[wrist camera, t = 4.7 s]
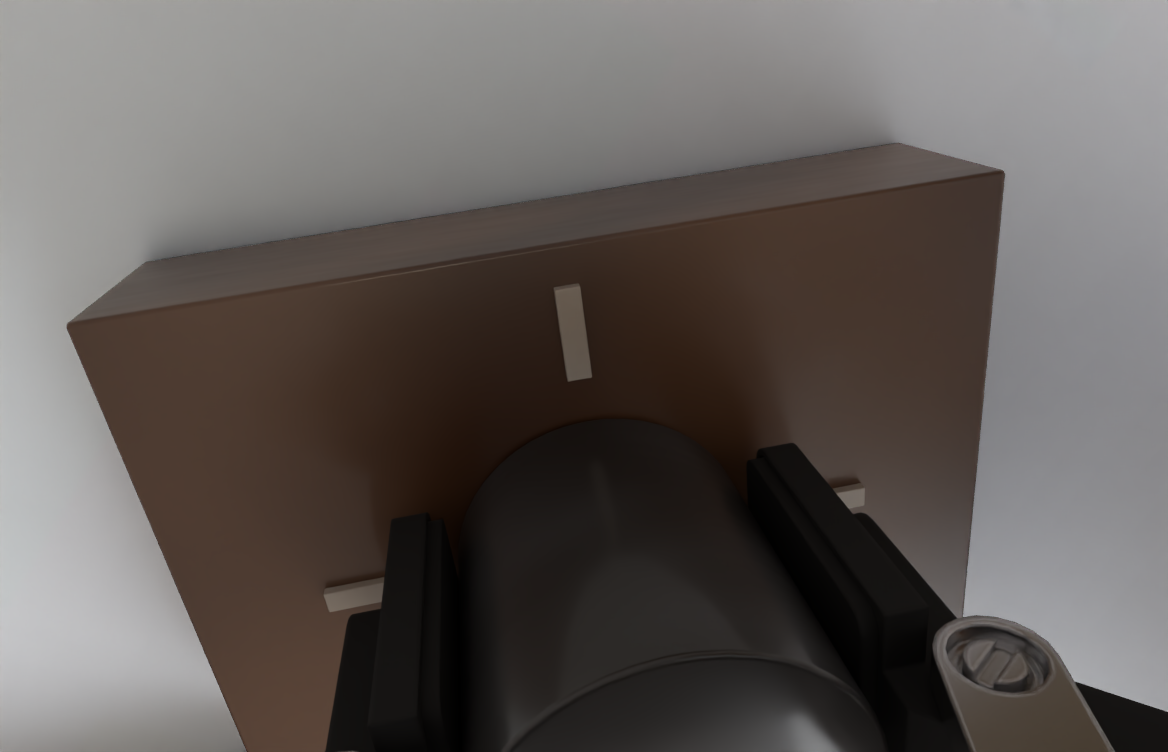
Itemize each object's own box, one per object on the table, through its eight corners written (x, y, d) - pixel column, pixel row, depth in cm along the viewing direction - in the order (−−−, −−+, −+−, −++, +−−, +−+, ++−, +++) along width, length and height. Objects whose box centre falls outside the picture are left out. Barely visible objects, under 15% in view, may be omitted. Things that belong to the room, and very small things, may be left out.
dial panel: (900, 141, 14) (1014, 171, 11) (882, 588, 18) (962, 692, 15) (142, 261, 13) (57, 328, 10) (308, 709, 17) (279, 845, 14)
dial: (733, 391, 12) (918, 632, 7) (745, 625, 14) (899, 936, 9) (431, 447, 12) (417, 741, 7) (486, 680, 14) (506, 1036, 9)
